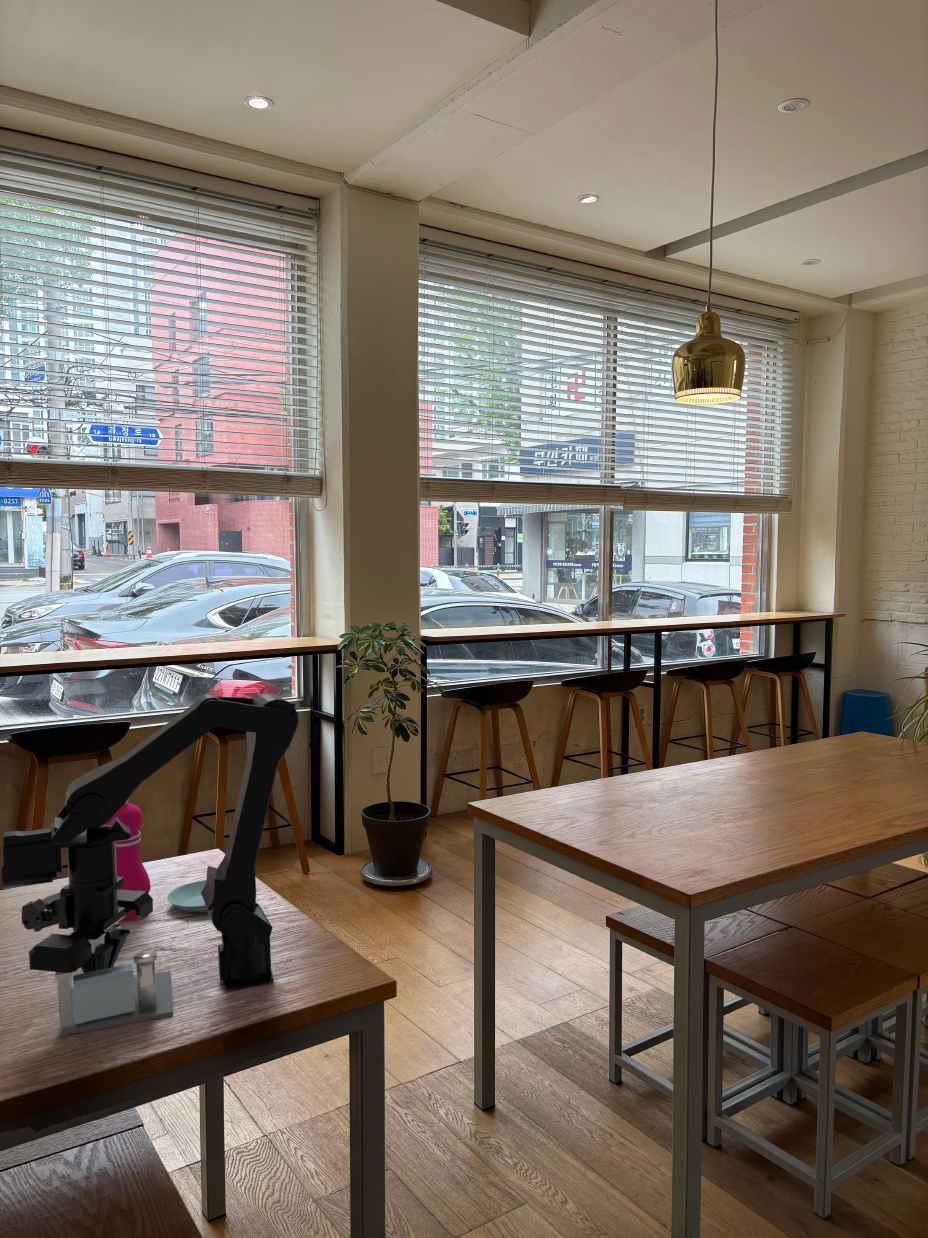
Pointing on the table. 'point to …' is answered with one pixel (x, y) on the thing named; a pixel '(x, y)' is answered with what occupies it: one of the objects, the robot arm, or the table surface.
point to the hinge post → (146, 980)
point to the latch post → (65, 1000)
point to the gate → (103, 993)
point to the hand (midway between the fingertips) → (97, 991)
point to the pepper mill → (130, 854)
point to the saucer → (188, 897)
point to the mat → (161, 1011)
